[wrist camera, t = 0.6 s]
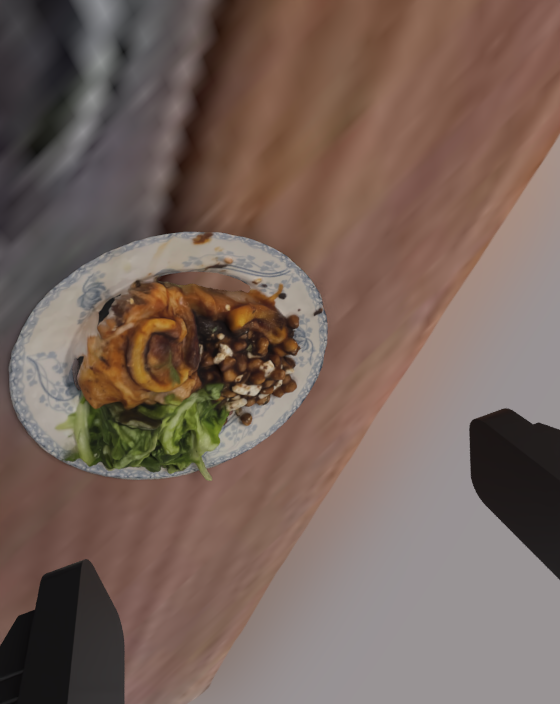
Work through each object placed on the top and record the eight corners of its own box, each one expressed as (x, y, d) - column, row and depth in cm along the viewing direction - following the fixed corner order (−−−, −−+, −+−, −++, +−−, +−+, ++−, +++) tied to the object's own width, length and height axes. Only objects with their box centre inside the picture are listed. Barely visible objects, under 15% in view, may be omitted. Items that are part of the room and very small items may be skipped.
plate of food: (116, 500, 54) (124, 549, 50) (-81, 324, 34) (-95, 380, 30) (339, 384, 56) (365, 421, 52) (274, 158, 37) (308, 188, 33)
